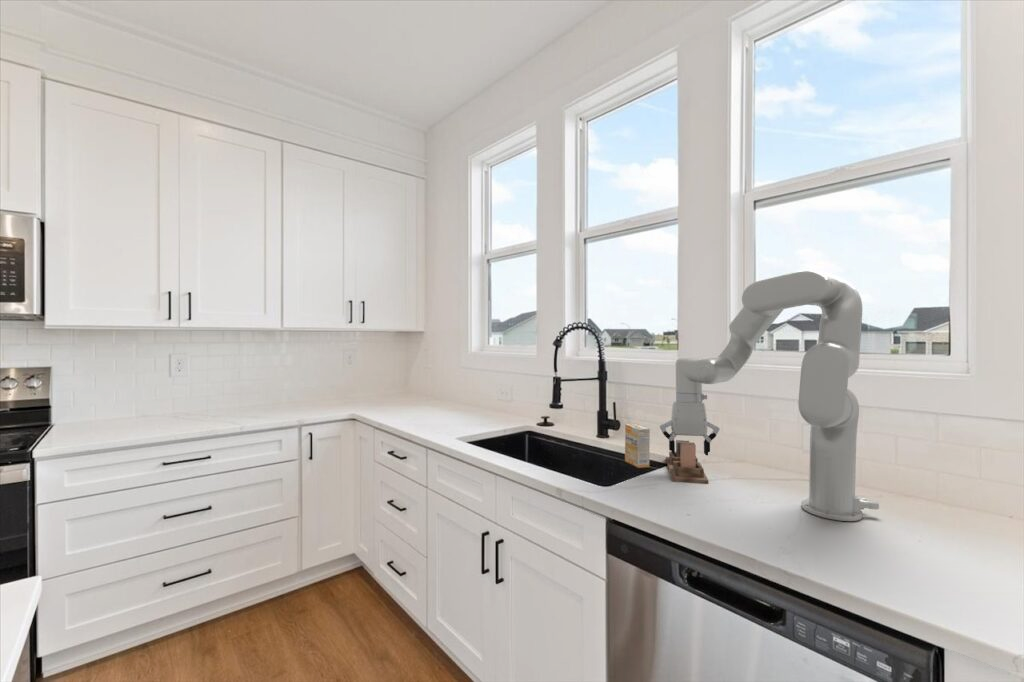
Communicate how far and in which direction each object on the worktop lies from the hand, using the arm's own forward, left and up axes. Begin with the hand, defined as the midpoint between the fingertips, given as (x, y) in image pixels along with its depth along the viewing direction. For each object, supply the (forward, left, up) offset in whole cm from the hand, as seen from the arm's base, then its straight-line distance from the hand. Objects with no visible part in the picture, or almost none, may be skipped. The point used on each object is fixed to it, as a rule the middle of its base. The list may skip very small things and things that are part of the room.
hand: (689, 453), depth 145 cm
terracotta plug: (0, 0, -6) cm, 6 cm away
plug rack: (0, -6, -7) cm, 10 cm away
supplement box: (+15, -10, -7) cm, 20 cm away
